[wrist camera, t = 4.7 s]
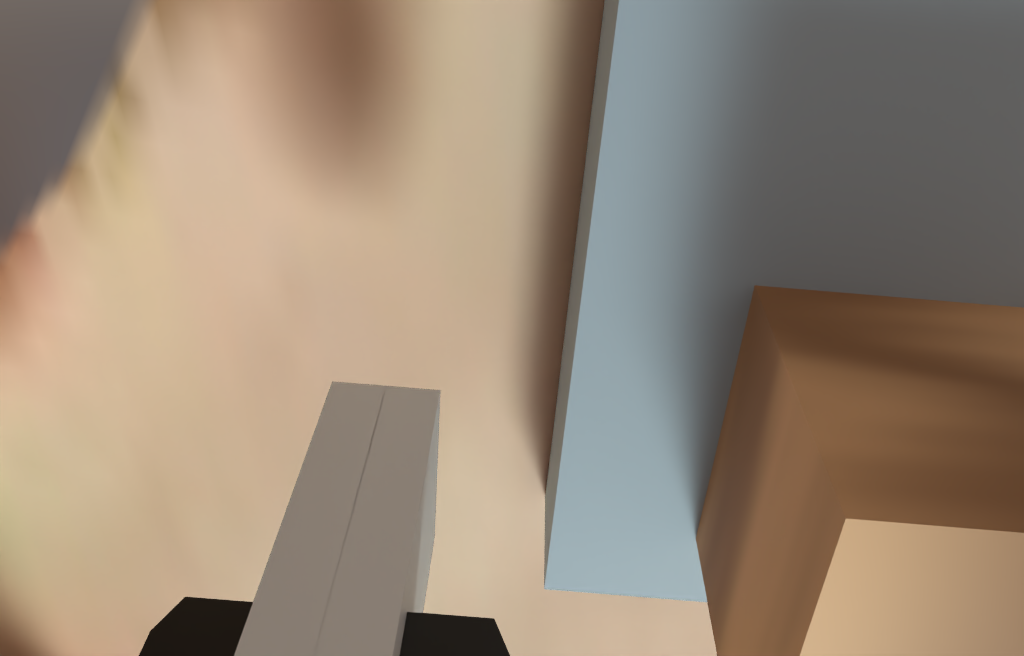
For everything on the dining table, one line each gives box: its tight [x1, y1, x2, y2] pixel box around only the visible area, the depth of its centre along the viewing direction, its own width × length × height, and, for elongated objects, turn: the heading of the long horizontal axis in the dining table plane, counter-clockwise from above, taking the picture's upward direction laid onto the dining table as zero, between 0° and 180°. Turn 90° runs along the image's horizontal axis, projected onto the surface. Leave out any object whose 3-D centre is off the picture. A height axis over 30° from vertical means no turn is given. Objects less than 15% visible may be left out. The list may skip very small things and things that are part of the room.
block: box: [696, 285, 1024, 656], centre depth 13 cm, size 5×5×5 cm
